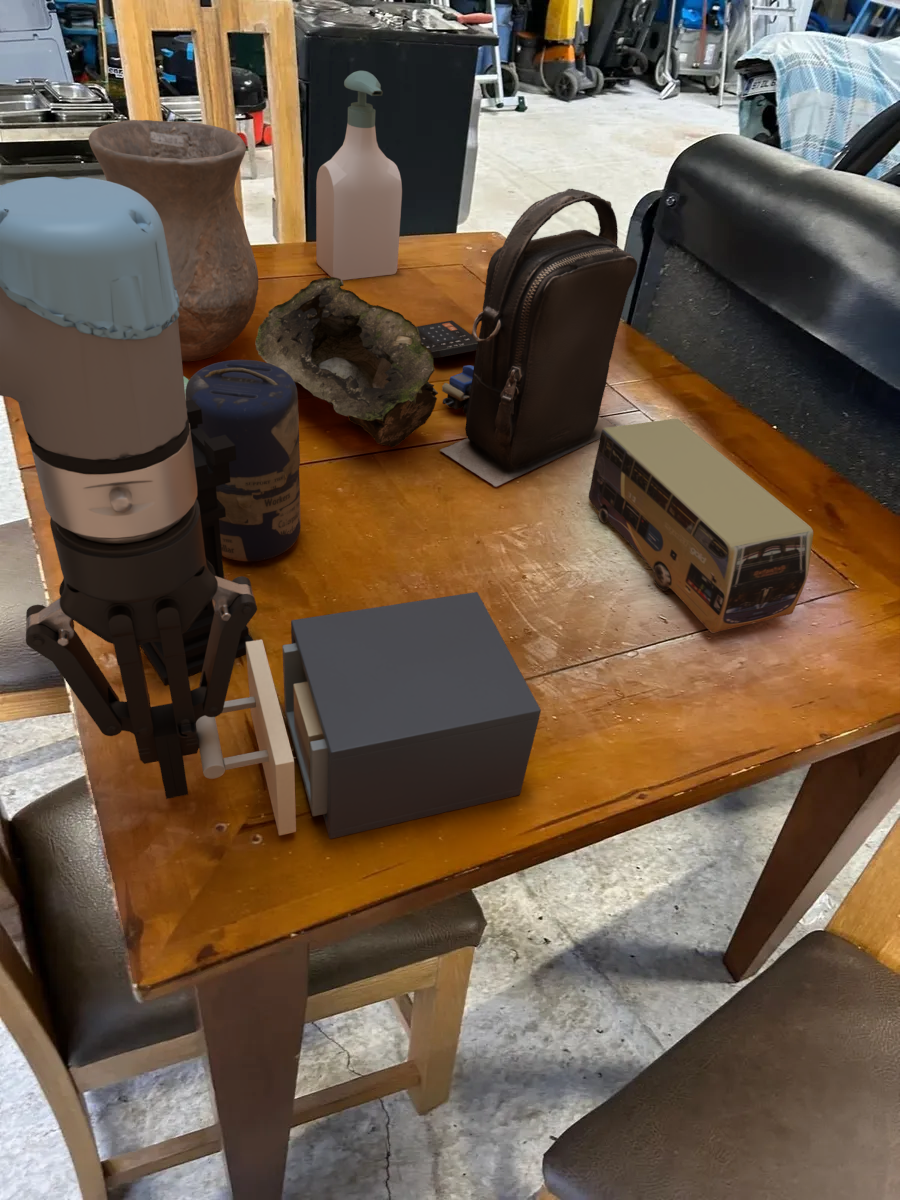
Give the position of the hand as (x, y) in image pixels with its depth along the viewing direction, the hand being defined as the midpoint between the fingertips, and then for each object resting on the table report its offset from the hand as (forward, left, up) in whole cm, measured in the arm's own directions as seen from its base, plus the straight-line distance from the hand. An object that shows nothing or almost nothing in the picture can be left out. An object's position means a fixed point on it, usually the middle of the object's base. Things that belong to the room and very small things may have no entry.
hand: (175, 781), depth 62 cm
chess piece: (-1, +17, -2) cm, 17 cm away
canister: (+2, +31, -2) cm, 31 cm away
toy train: (+31, +64, -2) cm, 71 cm away
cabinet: (+16, +5, -2) cm, 17 cm away
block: (+11, +3, 0) cm, 11 cm away
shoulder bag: (+33, +52, -2) cm, 61 cm away
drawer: (+10, +3, -1) cm, 11 cm away
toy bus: (+45, +30, -2) cm, 54 cm away
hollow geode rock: (+11, +56, -2) cm, 57 cm away
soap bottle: (+12, +100, -2) cm, 100 cm away
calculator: (+24, +75, -2) cm, 78 cm away
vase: (-10, +70, -2) cm, 70 cm away
